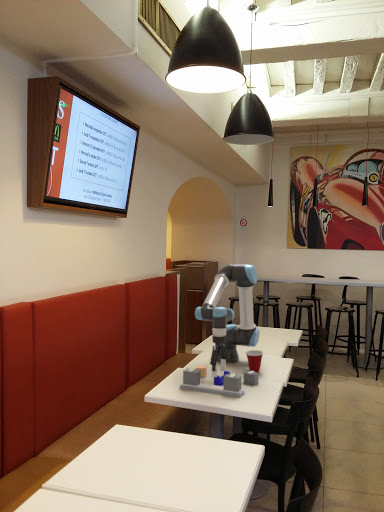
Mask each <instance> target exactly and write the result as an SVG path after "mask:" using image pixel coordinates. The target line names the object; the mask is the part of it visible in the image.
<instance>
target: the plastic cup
mask: <svg viewBox="0 0 384 512" xmlns="http://www.w3.org/2000/svg"><path fill="white" fill-rule="evenodd" d="M263 355H264V351H262V350H258V349H252V350H246V351H245V356H246V359H247V363H248V367H249V368H248V369H249V370H248V371H255V372H257V373H260V369H261V365H262V360H263V359H262V358H263Z"/></svg>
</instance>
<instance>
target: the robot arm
mask: <svg viewBox="0 0 384 512" xmlns="http://www.w3.org/2000/svg"><path fill="white" fill-rule="evenodd" d="M257 271H258V270H257V269H256V267H255V265H253V264H247V263H246V264H245V263H243V264H239V263H238V264H233V263H232V264H230V263H229V264H227V265H225V266H223V267H221V268H220V269H219V270H218V271H217V273H216V274H215V276H214V281H213V283H212V286H211V288H210V290H209V292H208V294H207V295H206V298H205V300H204V302H203V304H202V306H197V307H196V308H195V311H194V316H195V319H196V320H198V321H208V322H212V329H211V330H212V339H211V340H212V343H214V345H212V351H211V355H210V362H209V365H210V366H211V377H212V378H214V377H217V375H218V364H217V363H218V362H220V371H221V372H224V371H227V370H226V366H227V365H226V364H227V363H236V362H239V361H240V355H239V353H238V352H239V351H238V349H237V346H242V347H250V348H251V347H253V348H254V347H256V346H257V344H258V343H259V340H260V339H259V338H260V329H258V328H257V325H256V324H255V323H254V300H253V298H254V297H253V289H254V287H255V285H256V283H257V282H258V272H257ZM229 283H235V286H236V287H237V289H238V297H239V298H238V299H239V300H238V302H239V321H240V322H239V323H240V324H238V325H237V324H235V323H231V324H227V323H229V322H231V321H232V320H233V319H234V318H235V312H234V310H233V309H232V308H230V307H225V306H224V307H223V306H218V303H219V301H220V299H221V297H222V295H223V293H224V290H225V288H226V287H227V286H228V285H229Z"/></svg>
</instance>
